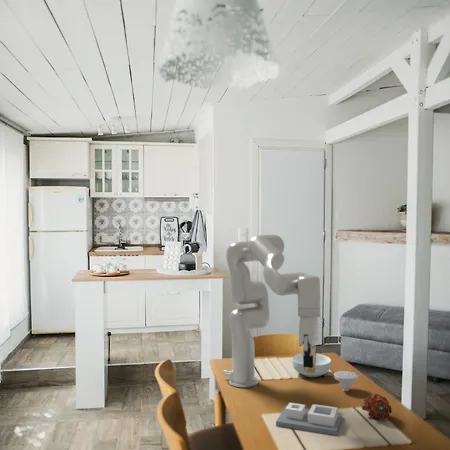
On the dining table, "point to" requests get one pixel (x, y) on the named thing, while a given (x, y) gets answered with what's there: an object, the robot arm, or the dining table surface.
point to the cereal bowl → (321, 365)
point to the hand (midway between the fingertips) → (309, 364)
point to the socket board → (311, 418)
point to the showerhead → (346, 378)
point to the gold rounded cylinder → (311, 370)
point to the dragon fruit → (377, 406)
